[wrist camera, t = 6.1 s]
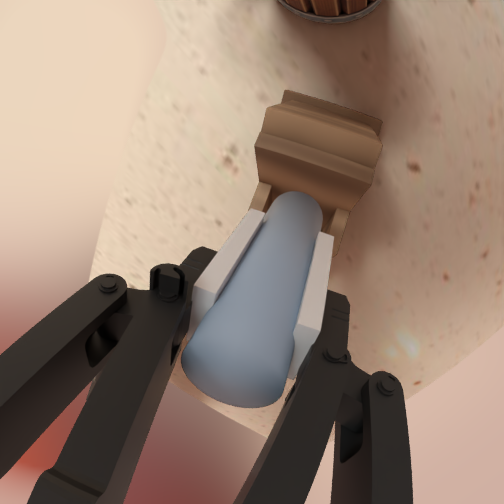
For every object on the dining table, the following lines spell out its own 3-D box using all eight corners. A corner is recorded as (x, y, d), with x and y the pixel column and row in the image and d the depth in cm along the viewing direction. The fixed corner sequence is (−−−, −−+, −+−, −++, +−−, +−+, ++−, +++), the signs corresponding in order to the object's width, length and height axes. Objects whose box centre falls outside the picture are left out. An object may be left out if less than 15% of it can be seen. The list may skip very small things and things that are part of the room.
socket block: (287, 89, 27) (250, 94, 17) (381, 120, 26) (402, 143, 16) (250, 234, 36) (208, 300, 26) (328, 261, 35) (315, 339, 25)
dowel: (276, 184, 18) (184, 322, 8) (329, 201, 18) (298, 364, 8) (264, 231, 20) (178, 384, 10) (313, 247, 20) (267, 418, 10)
